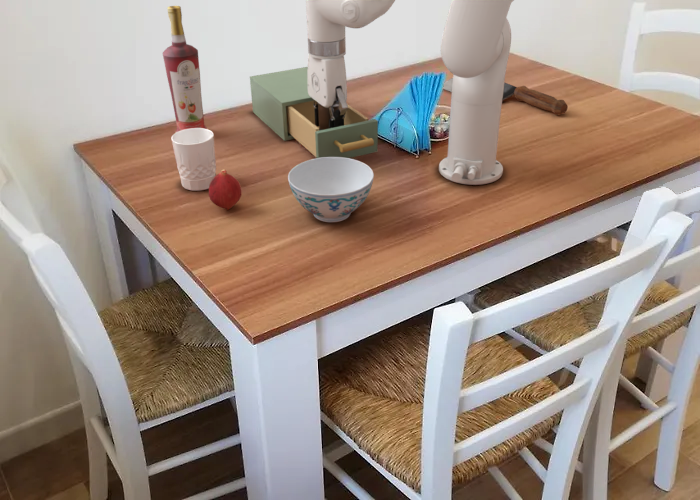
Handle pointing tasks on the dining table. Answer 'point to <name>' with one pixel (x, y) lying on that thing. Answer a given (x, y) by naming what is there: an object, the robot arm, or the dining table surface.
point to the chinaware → (331, 186)
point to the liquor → (183, 76)
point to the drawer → (332, 133)
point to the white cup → (195, 157)
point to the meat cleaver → (527, 97)
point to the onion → (224, 190)
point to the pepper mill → (325, 116)
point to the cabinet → (278, 97)
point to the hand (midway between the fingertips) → (329, 129)
